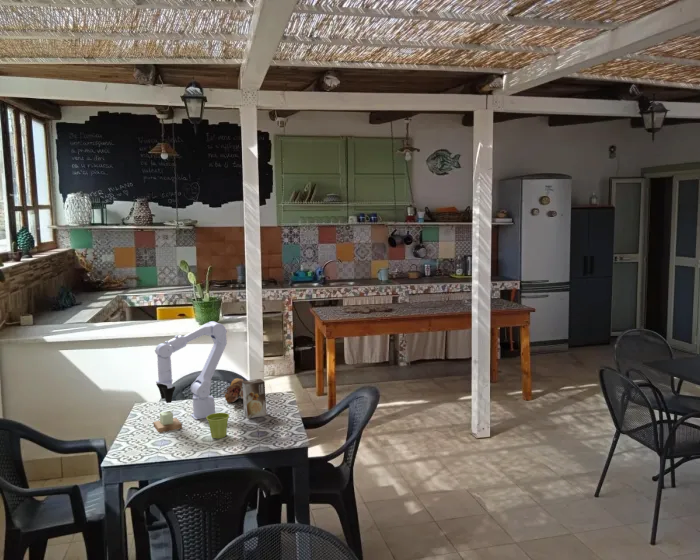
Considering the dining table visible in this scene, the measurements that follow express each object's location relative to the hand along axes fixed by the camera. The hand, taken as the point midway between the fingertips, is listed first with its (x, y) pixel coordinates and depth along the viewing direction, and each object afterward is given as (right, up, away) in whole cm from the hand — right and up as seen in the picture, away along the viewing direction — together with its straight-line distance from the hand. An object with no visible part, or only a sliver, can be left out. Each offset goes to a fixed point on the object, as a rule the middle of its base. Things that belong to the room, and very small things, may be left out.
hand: (166, 400), depth 273 cm
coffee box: (+38, -9, +9) cm, 40 cm away
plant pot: (+27, -12, -17) cm, 34 cm away
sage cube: (+1, -9, -5) cm, 10 cm away
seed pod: (+25, -7, +33) cm, 42 cm away
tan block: (+2, -11, -4) cm, 12 cm away
